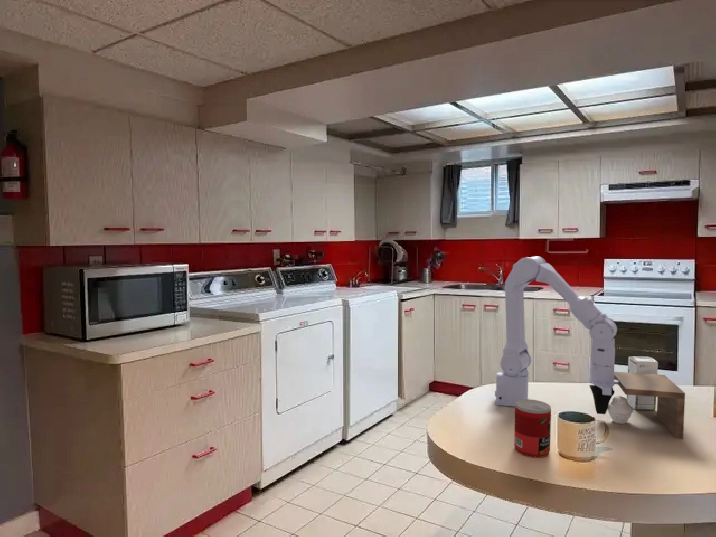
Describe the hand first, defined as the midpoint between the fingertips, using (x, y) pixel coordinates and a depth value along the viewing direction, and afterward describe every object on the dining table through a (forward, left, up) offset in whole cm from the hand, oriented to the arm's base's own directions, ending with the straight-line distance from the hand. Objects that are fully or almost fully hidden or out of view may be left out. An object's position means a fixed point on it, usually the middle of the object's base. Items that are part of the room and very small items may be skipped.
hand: (600, 413), depth 133 cm
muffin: (+5, 0, -2) cm, 5 cm away
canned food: (-19, -25, -2) cm, 31 cm away
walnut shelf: (+11, 0, -2) cm, 11 cm away
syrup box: (+13, +14, -2) cm, 19 cm away
